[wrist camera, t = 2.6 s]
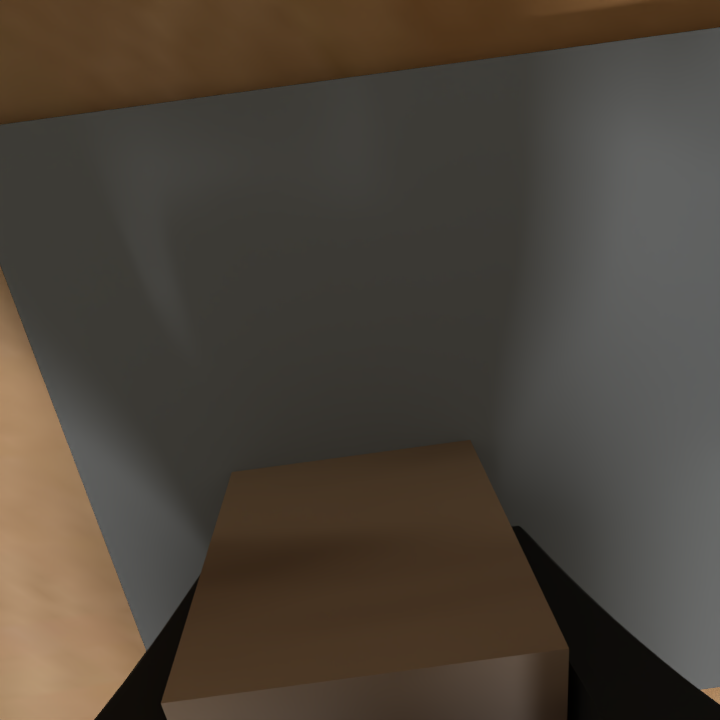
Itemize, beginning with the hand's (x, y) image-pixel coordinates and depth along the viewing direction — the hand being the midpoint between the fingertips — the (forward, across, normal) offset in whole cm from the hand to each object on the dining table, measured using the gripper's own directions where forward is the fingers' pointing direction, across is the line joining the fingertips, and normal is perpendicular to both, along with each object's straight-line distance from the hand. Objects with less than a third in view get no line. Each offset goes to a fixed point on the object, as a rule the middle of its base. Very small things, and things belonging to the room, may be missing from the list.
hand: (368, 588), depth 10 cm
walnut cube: (+1, 0, 0) cm, 1 cm away
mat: (+1, -6, -2) cm, 6 cm away
